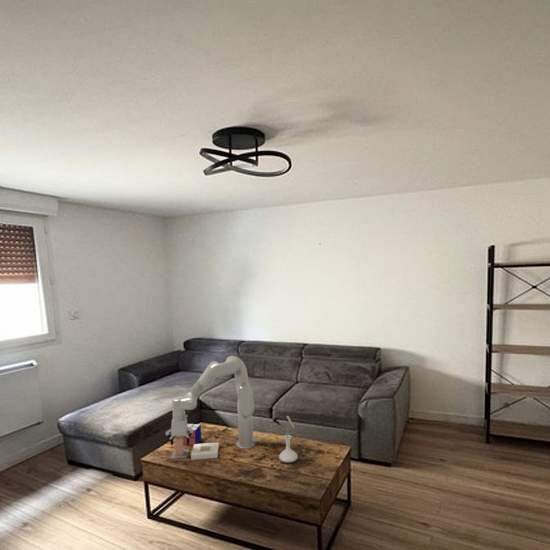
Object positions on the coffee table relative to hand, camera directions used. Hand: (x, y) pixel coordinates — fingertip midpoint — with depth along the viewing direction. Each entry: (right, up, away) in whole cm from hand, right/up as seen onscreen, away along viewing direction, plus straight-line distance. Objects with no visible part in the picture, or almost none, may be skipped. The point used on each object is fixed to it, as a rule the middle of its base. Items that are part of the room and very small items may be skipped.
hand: (180, 444), depth 222 cm
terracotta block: (0, -6, 0) cm, 6 cm away
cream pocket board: (+16, -6, +1) cm, 17 cm away
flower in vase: (+69, -4, -9) cm, 70 cm away
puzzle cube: (+3, -7, +17) cm, 19 cm away
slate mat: (0, -7, 0) cm, 7 cm away
